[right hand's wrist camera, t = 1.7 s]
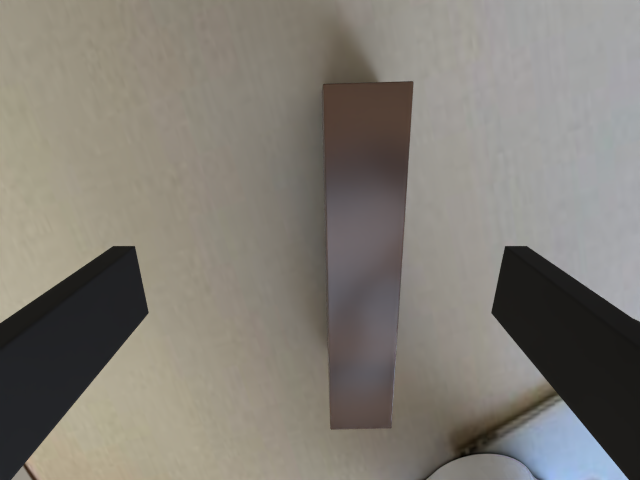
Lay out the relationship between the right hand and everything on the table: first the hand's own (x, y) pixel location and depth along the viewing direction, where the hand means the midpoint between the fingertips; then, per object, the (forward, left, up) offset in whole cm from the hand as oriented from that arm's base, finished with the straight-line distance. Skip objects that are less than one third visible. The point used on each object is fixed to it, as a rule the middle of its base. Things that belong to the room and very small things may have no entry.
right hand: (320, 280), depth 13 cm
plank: (+6, +3, -20) cm, 21 cm away
